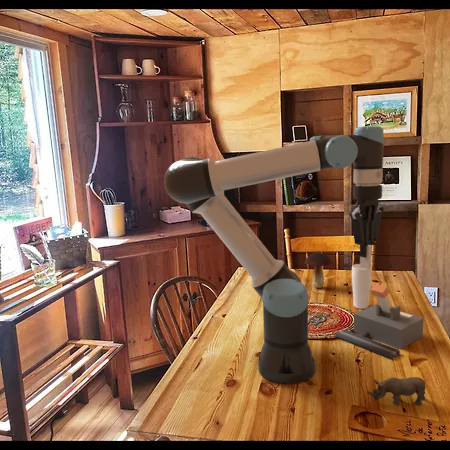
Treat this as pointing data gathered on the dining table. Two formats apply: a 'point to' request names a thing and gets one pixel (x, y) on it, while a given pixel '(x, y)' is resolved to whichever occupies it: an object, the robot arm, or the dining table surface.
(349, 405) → the dining table surface
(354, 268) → the tall cup
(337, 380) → the dining table surface
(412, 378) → the rhino figurine
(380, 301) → the toggle lever
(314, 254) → the decorative mushroom
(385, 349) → the cable bundle
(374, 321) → the switch block
